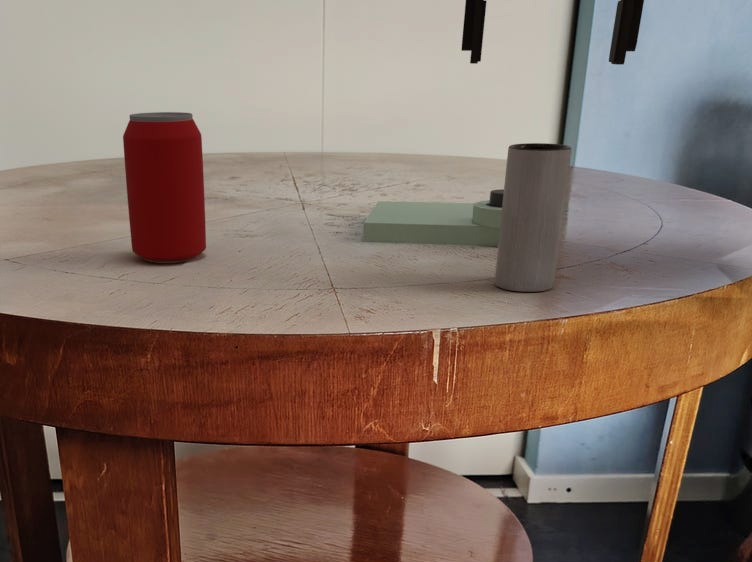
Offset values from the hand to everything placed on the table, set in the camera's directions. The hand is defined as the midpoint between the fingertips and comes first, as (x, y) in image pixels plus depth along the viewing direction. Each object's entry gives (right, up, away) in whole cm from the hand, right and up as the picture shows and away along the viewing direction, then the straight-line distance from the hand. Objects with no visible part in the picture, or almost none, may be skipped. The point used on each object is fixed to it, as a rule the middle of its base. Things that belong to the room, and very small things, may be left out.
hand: (544, 63), depth 63 cm
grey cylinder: (+1, -14, +8) cm, 16 cm away
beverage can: (-29, -9, +19) cm, 35 cm away
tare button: (+3, -3, +21) cm, 22 cm away
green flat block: (-2, -3, +28) cm, 28 cm away
